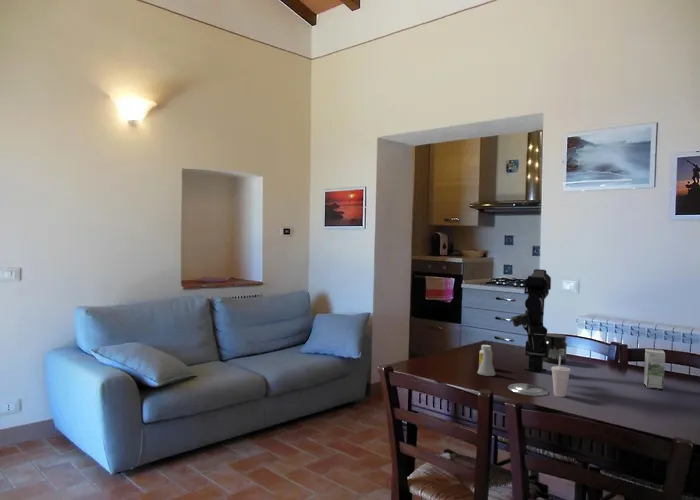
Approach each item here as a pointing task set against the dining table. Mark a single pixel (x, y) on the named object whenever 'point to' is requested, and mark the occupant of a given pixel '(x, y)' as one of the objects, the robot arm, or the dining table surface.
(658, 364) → the syrup box
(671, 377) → the dining table surface
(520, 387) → the grey stepped round plate
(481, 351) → the supplement bottle
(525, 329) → the robot arm
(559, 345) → the supplement container
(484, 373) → the flask
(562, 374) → the smoothie
